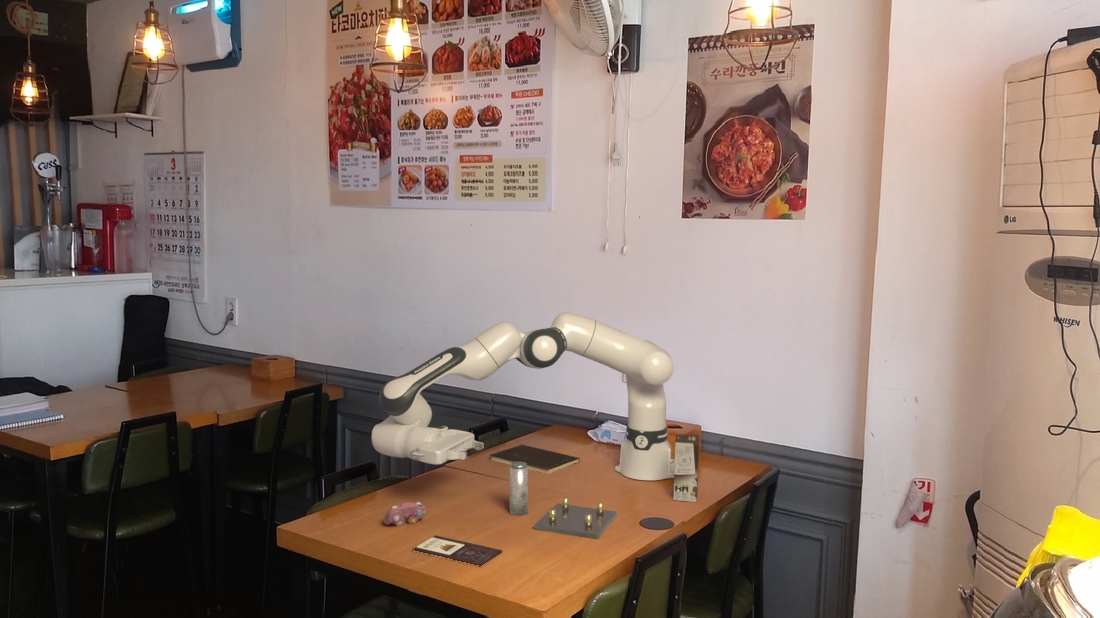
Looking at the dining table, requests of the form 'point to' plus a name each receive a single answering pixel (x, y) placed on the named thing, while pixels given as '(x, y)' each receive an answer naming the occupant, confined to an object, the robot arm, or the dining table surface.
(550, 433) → the dining table surface
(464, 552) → the chocolate bar
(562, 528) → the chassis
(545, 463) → the hardcover book
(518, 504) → the canister
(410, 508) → the video game controller
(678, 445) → the coffee box
